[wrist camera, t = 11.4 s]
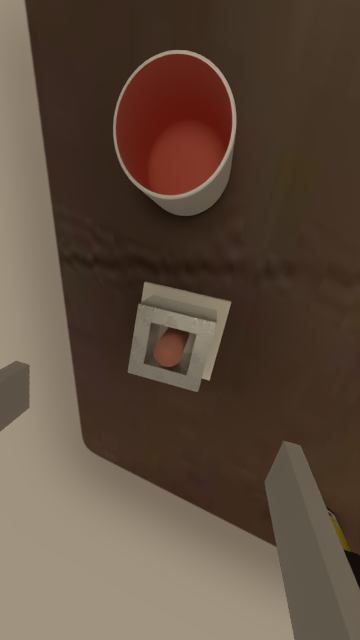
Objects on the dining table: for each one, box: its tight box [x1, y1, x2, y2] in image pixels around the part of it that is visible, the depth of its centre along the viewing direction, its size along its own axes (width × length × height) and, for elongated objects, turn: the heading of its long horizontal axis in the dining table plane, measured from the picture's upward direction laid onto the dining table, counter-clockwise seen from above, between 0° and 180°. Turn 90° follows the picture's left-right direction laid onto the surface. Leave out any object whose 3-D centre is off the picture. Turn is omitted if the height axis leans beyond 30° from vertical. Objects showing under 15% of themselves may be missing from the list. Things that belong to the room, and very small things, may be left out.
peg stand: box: [141, 282, 231, 380], centre depth 29 cm, size 12×12×8 cm
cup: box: [113, 50, 236, 216], centre depth 23 cm, size 10×10×10 cm
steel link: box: [128, 295, 217, 392], centre depth 30 cm, size 9×9×6 cm
